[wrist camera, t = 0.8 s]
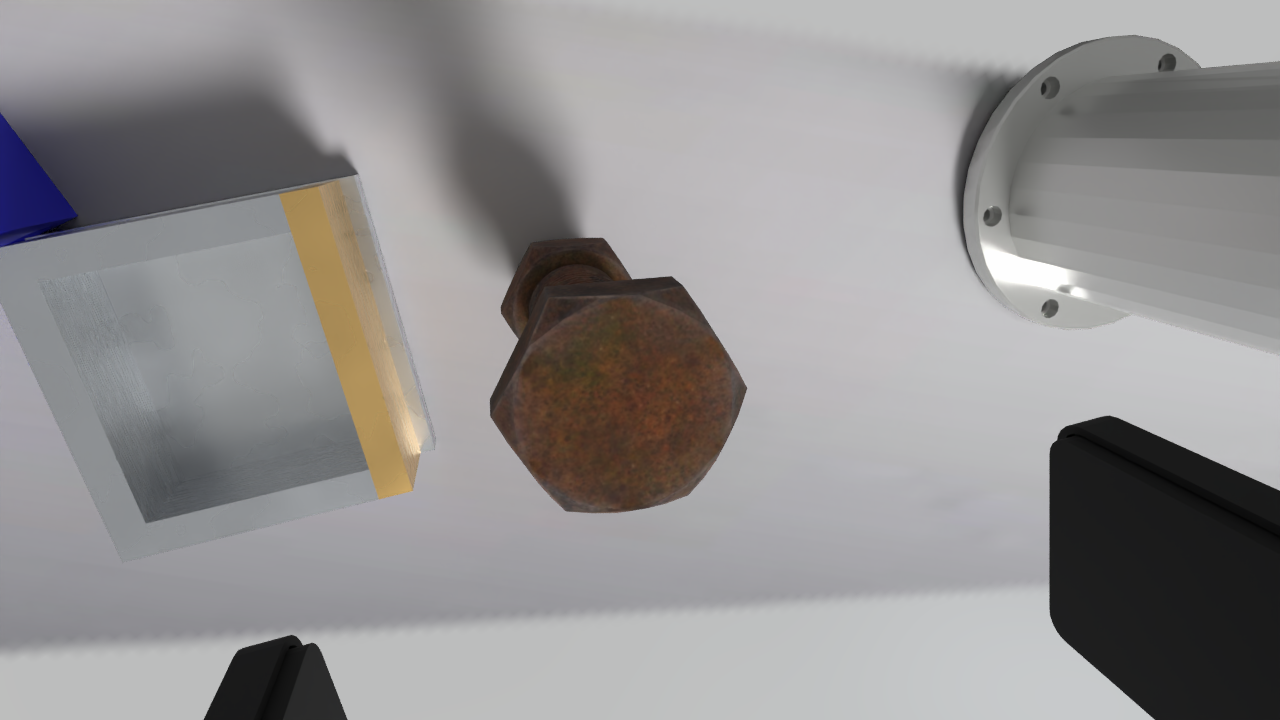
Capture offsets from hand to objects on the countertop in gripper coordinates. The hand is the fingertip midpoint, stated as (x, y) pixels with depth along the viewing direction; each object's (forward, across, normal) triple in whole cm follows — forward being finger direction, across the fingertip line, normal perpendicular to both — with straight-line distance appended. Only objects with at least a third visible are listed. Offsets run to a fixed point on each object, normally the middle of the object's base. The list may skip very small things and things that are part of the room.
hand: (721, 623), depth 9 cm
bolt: (+23, 0, 0) cm, 23 cm away
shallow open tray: (+22, +12, 0) cm, 25 cm away
